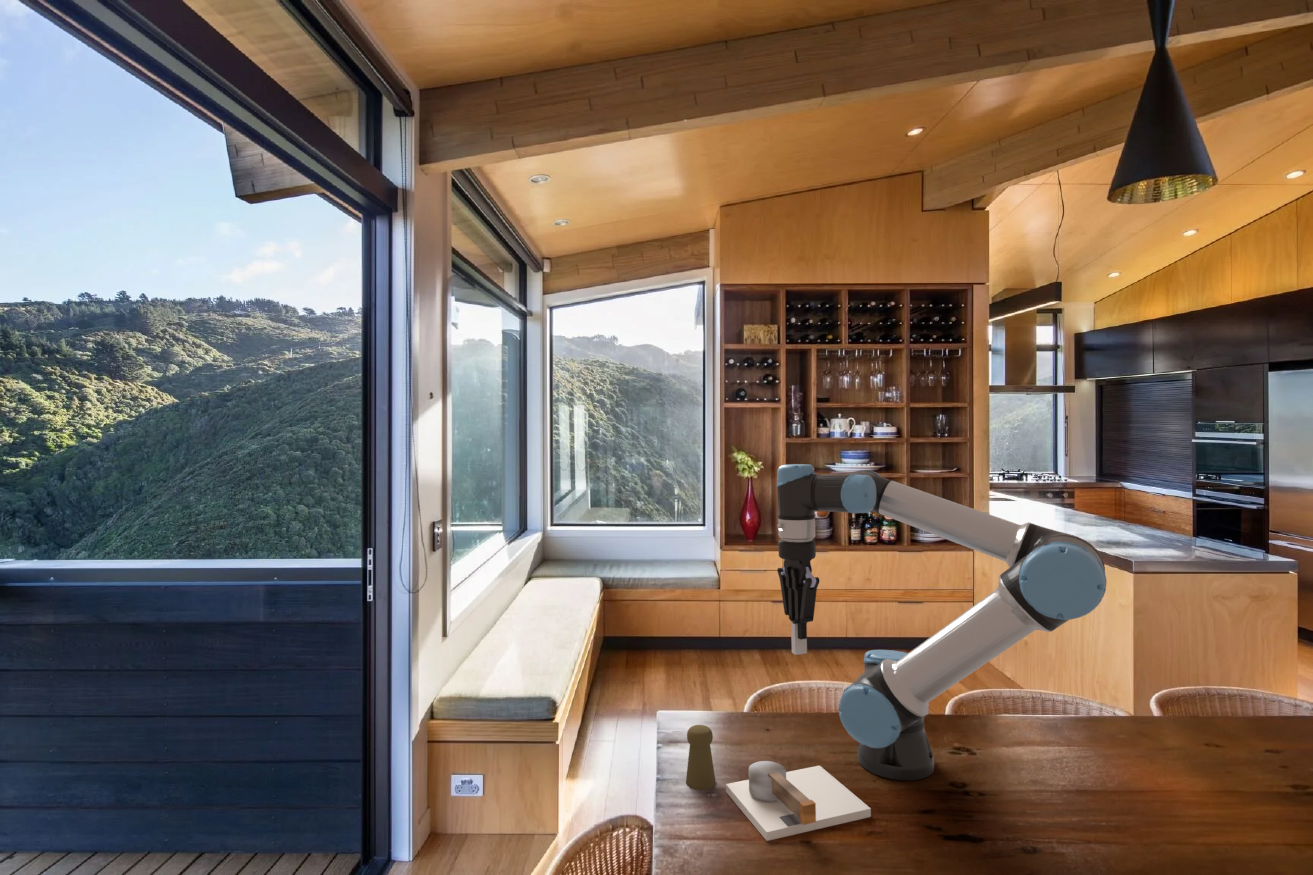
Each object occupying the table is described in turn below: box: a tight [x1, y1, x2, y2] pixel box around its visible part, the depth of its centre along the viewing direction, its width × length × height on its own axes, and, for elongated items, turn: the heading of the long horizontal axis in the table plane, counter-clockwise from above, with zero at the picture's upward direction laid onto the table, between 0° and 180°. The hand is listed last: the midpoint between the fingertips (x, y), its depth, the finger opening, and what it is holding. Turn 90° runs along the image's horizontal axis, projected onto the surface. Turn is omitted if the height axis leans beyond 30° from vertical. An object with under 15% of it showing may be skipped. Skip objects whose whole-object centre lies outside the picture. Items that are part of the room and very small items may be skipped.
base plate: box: [725, 765, 872, 842], centre depth 125 cm, size 21×17×2 cm
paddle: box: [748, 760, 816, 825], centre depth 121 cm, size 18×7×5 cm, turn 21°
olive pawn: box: [685, 724, 717, 791], centre depth 134 cm, size 6×6×11 cm
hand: (799, 652), depth 138 cm, fingers closed
